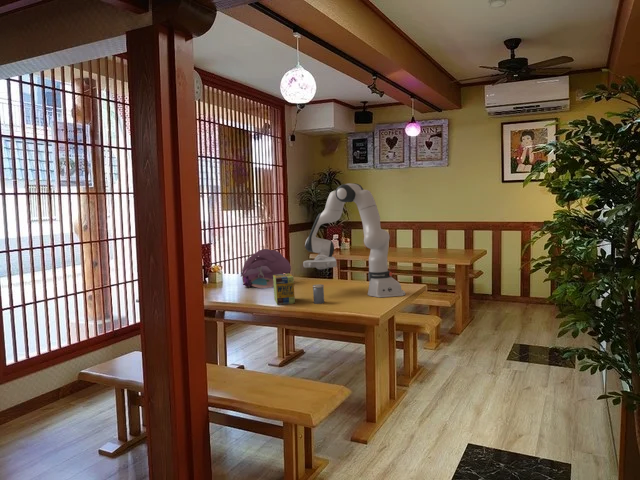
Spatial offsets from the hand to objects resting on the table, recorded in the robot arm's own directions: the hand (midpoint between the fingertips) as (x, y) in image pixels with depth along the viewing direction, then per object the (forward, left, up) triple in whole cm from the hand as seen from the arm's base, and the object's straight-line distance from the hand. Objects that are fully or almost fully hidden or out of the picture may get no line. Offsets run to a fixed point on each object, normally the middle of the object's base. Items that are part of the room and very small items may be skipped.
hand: (319, 265), depth 294 cm
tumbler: (0, +12, -20) cm, 23 cm away
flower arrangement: (+45, -50, -20) cm, 70 cm away
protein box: (+21, +6, -20) cm, 30 cm away
